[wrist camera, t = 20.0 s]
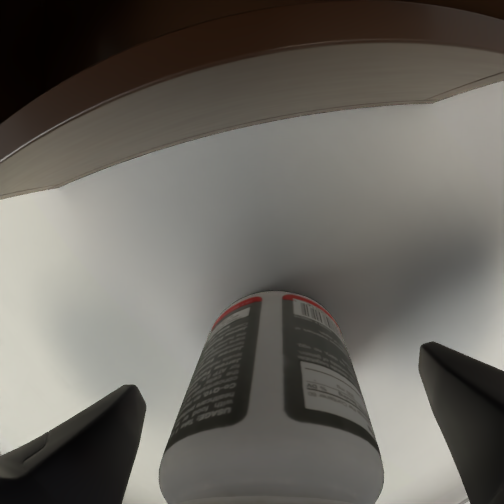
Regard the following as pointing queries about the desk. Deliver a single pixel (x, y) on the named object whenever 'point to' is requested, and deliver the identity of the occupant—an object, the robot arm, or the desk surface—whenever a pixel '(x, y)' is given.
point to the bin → (216, 71)
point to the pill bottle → (273, 413)
